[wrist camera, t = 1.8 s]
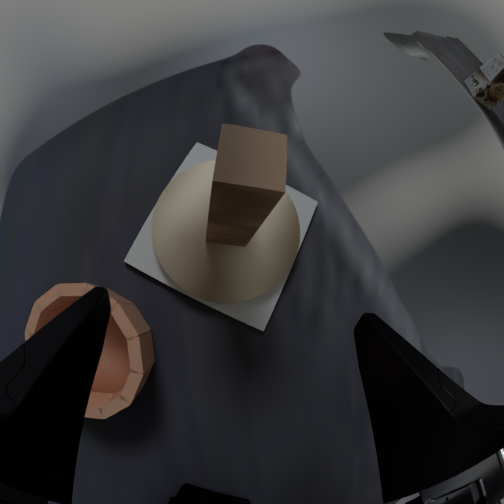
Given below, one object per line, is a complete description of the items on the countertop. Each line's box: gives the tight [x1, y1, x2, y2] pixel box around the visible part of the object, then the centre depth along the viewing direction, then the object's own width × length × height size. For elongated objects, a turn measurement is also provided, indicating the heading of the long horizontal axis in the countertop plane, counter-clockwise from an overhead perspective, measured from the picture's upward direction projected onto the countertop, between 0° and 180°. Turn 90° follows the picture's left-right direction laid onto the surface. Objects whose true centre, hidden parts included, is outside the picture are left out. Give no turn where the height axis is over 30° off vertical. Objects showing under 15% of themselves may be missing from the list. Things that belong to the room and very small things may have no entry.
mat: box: [124, 142, 318, 331], centre depth 22 cm, size 12×12×1 cm
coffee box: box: [465, 52, 504, 110], centre depth 35 cm, size 9×6×16 cm
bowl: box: [25, 283, 155, 419], centre depth 16 cm, size 9×9×4 cm
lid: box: [152, 124, 300, 303], centre depth 16 cm, size 12×12×11 cm
